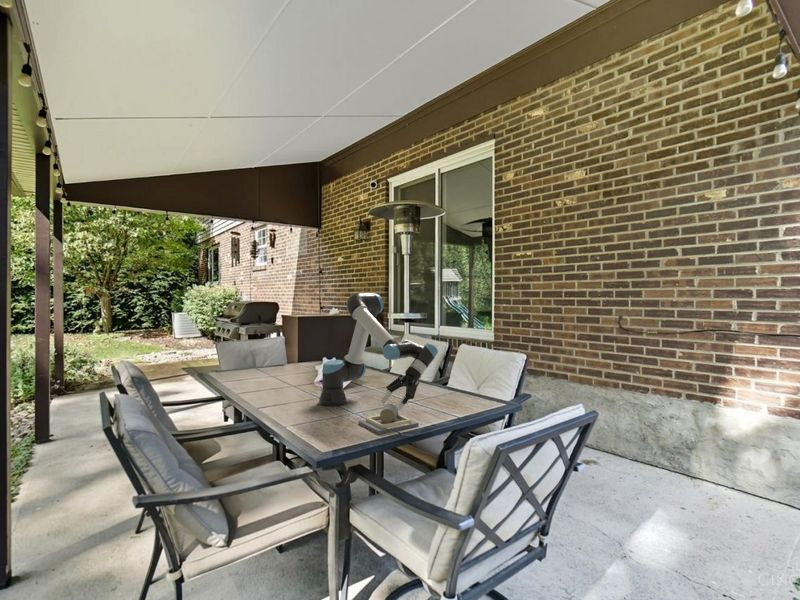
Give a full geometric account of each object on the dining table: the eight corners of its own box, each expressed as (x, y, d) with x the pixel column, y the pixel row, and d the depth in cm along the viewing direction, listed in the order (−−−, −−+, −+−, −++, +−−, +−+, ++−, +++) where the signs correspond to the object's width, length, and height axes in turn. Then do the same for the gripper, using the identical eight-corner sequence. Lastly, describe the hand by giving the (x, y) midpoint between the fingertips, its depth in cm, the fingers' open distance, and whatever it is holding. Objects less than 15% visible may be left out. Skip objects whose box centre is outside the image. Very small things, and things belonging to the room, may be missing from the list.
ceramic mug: (379, 423, 196) (379, 407, 196) (382, 418, 204) (383, 402, 204) (401, 425, 194) (402, 409, 194) (404, 420, 202) (404, 404, 202)
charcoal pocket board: (358, 424, 201) (358, 417, 201) (396, 416, 213) (396, 410, 213) (378, 434, 186) (378, 427, 186) (418, 426, 198) (418, 419, 198)
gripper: (435, 380, 199) (409, 416, 191) (405, 371, 219) (380, 404, 211) (427, 369, 196) (400, 406, 187) (396, 362, 216) (371, 395, 208)
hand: (389, 405), depth 199 cm, fingers open, 13 cm apart
